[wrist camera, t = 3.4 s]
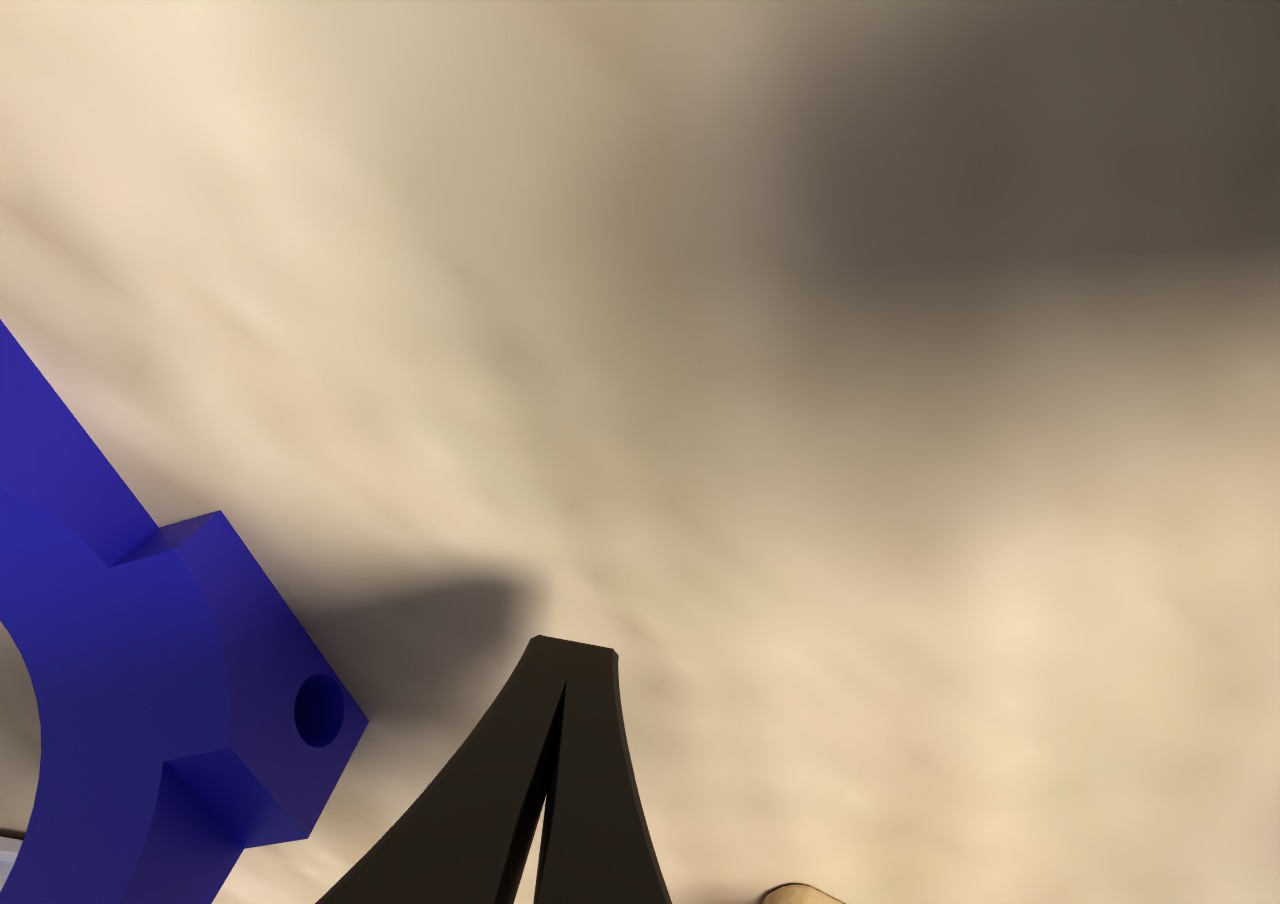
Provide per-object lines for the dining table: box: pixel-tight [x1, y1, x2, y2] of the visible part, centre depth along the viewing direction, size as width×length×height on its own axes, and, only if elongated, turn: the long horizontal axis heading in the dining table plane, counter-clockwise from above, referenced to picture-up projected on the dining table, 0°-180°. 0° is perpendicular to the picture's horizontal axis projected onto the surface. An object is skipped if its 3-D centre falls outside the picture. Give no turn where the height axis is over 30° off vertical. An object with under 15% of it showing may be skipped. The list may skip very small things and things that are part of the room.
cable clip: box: [0, 320, 369, 904], centre depth 11 cm, size 12×4×6 cm, turn 18°
